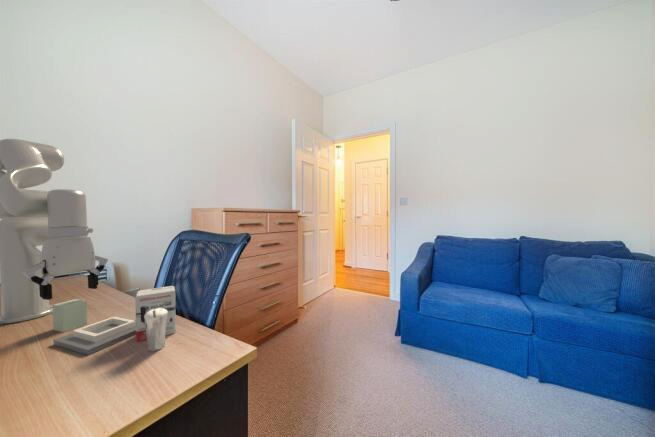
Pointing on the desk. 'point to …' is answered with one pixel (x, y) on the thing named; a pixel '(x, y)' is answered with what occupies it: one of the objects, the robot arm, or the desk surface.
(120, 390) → the desk surface
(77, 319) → the sage block
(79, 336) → the baseplate
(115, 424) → the desk surface
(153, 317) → the milkshake
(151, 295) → the ink box
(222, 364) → the desk surface
